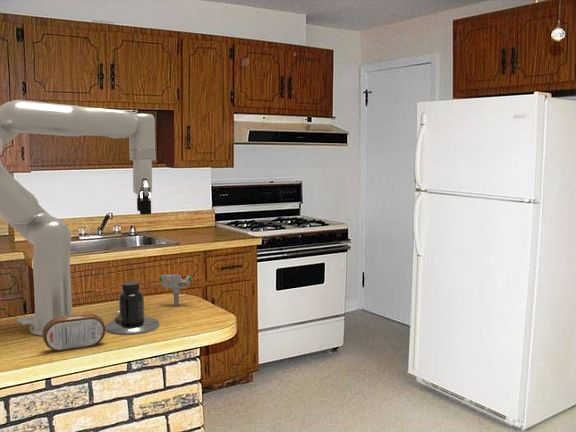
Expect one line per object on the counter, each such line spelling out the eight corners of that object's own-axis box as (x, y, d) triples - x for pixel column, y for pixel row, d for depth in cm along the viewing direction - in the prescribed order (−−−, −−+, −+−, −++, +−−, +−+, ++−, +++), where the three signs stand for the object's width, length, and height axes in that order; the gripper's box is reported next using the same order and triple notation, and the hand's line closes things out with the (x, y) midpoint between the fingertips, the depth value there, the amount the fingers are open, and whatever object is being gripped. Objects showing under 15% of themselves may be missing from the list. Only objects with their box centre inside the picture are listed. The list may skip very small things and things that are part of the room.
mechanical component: (191, 307, 186) (190, 276, 185) (159, 306, 186) (158, 276, 185) (192, 304, 189) (192, 274, 188) (161, 304, 189) (161, 274, 188)
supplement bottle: (137, 319, 171) (136, 279, 169) (148, 324, 166) (147, 283, 164) (115, 323, 166) (114, 282, 165) (126, 329, 161) (125, 287, 160)
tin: (104, 341, 153) (103, 310, 152) (107, 345, 150) (106, 313, 149) (43, 350, 146) (41, 318, 145) (44, 354, 143) (42, 321, 142)
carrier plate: (106, 337, 156) (105, 324, 156) (104, 321, 170) (104, 309, 170) (162, 331, 161) (162, 319, 161) (156, 316, 175) (156, 305, 175)
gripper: (127, 155, 180) (129, 209, 182) (131, 156, 164) (133, 216, 166) (152, 155, 182) (153, 209, 184) (158, 156, 166) (160, 215, 168)
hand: (144, 212), depth 175 cm, fingers open, 9 cm apart
